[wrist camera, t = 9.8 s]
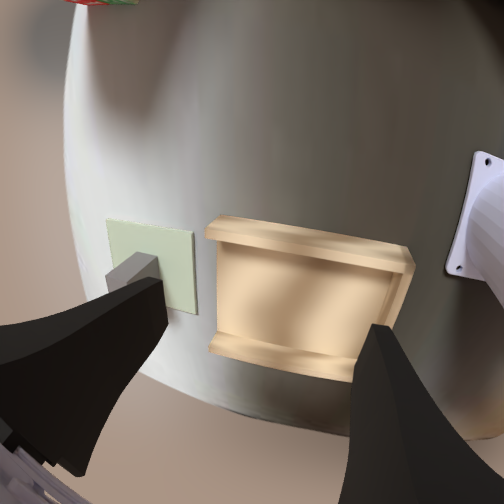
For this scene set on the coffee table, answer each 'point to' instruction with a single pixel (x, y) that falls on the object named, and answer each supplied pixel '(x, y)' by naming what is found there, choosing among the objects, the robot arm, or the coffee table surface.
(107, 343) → the robot arm
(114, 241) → the cover plate
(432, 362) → the coffee table surface
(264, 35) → the coffee table surface
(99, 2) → the stack of blocks
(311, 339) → the box
